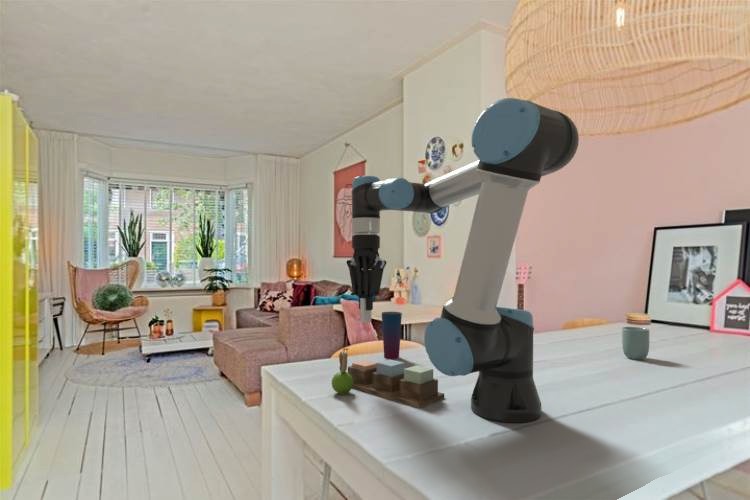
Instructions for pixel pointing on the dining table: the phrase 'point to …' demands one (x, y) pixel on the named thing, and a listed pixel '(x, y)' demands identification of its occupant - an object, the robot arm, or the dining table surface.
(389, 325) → the cup
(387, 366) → the slate key
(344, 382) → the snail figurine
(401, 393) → the wooden socket tray
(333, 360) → the dining table surface
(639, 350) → the cup
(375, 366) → the terracotta key
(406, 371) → the sage key
